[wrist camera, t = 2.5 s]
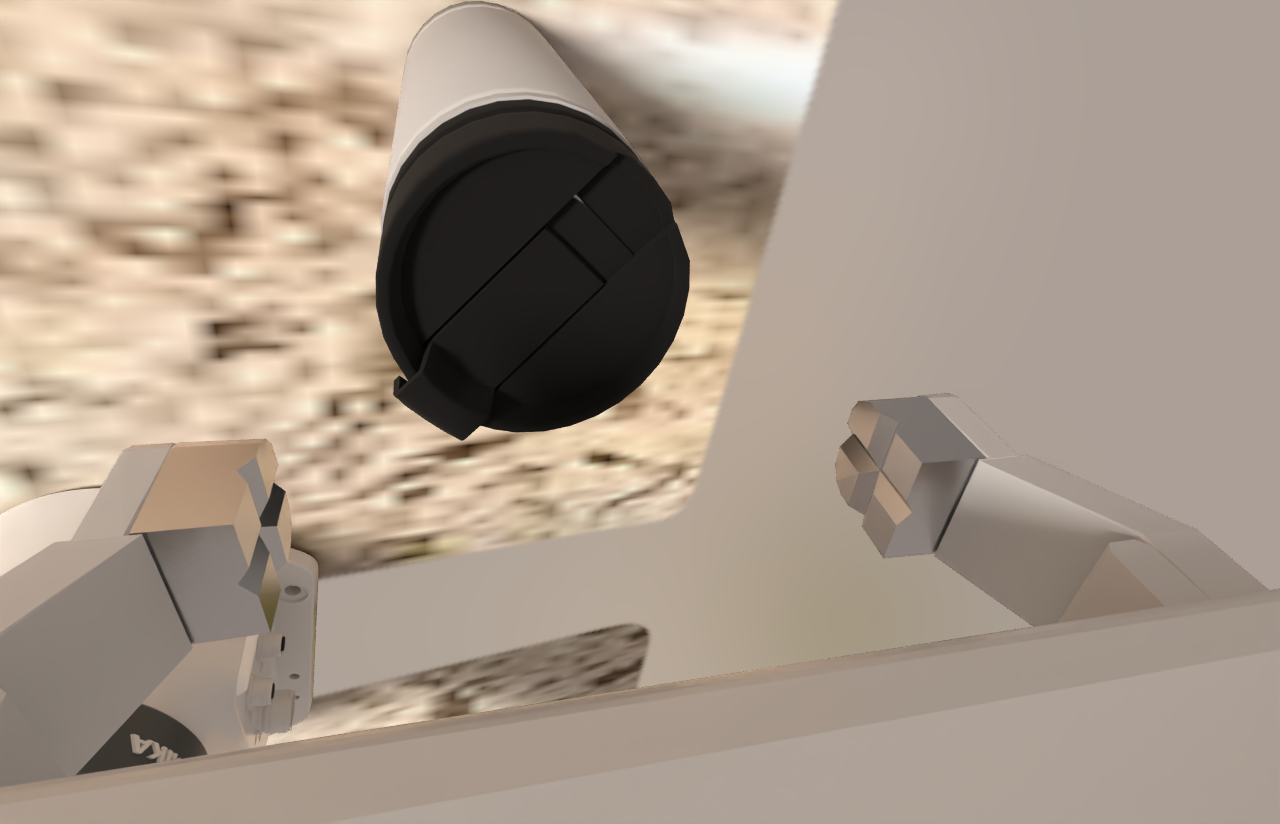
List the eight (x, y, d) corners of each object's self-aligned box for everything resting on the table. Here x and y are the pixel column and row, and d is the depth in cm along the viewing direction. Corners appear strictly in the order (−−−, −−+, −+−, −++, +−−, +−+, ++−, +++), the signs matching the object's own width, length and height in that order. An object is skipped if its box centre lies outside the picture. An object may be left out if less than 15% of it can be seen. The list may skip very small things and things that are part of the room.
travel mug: (364, 88, 28) (279, 333, 12) (480, -40, 26) (552, 52, 11) (482, 200, 32) (533, 500, 16) (590, 92, 30) (765, 306, 14)
